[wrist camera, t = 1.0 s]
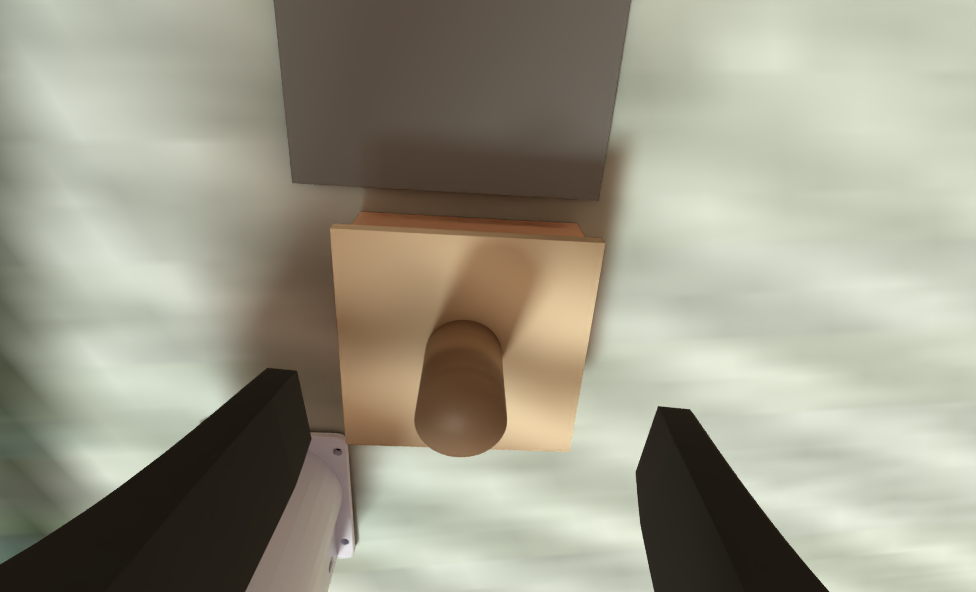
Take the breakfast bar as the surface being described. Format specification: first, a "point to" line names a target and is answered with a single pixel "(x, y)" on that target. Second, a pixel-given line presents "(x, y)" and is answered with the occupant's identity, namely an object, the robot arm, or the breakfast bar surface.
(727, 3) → the breakfast bar surface
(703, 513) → the robot arm
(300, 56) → the mat
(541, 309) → the lid
